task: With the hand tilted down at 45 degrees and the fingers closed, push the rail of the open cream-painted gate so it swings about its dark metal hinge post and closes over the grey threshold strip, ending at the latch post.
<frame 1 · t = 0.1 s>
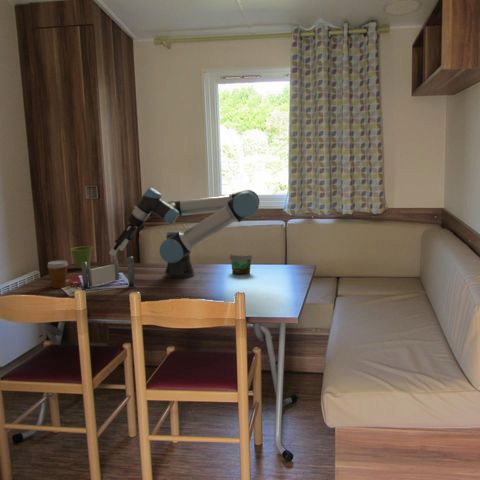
hand: (115, 252, 257), 15 cm above the table, tool tilted 35°, fingers open, 13 cm apart
disposable coffee cup: (59, 286, 253), on the table
threshold strip: (109, 288, 248), on the table
latch post: (131, 287, 249), on the table
hinge post: (85, 289, 247), on the table
food container: (239, 274, 272), on the table
plant pot: (82, 268, 292), on the table
gate: (103, 272, 254), point 6 cm above the table, hinge at 45.0°
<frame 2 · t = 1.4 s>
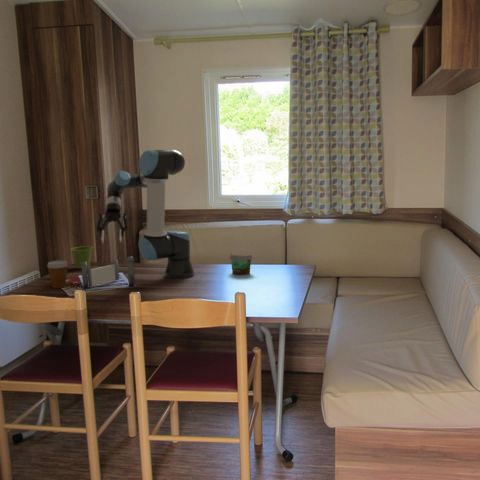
hand: (111, 241, 267), 19 cm above the table, tool tilted 45°, fingers open, 8 cm apart
nothing on the table moved.
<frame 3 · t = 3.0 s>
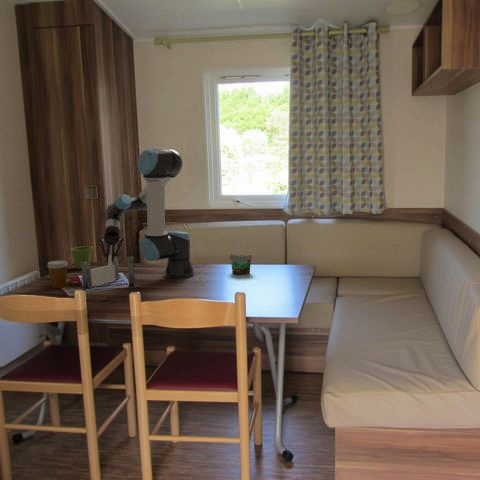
hand: (109, 267, 263), 6 cm above the table, tool tilted 45°, fingers closed
nothing on the table moved.
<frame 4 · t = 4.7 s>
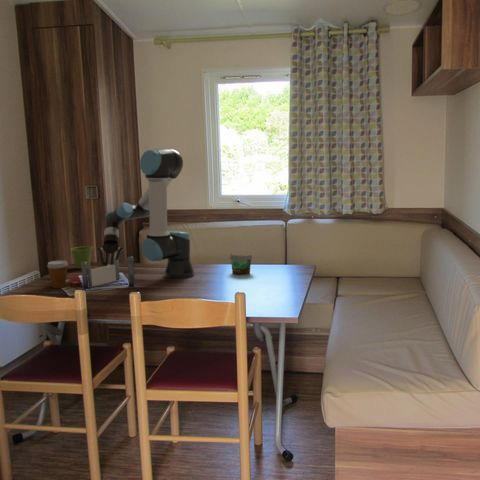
hand: (108, 276, 258), 3 cm above the table, tool tilted 45°, fingers closed
gate: (103, 272, 253), point 6 cm above the table, hinge at 43.3°
everything else where it was.
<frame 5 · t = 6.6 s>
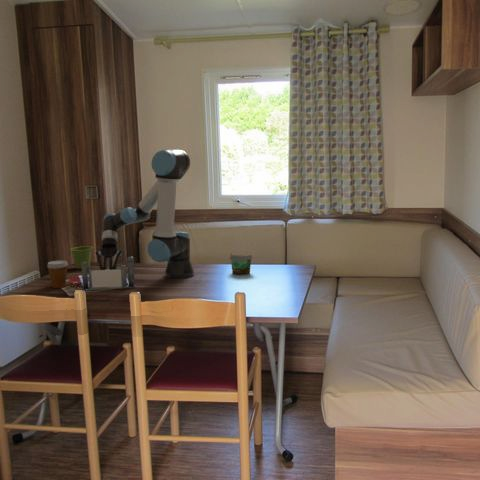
hand: (107, 281, 249), 3 cm above the table, tool tilted 45°, fingers closed
gate: (107, 276, 246), point 6 cm above the table, hinge at -1.7°, touching gripper
everything else where it was.
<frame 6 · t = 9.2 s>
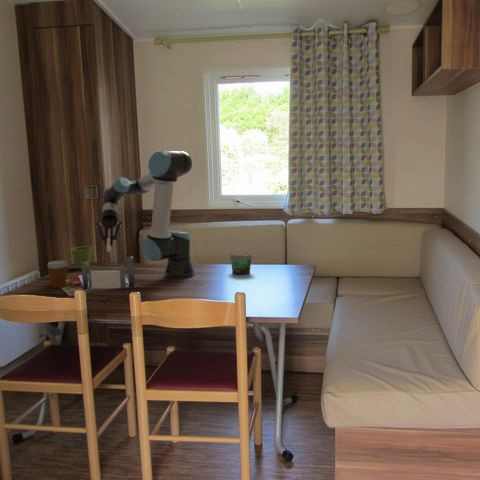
hand: (108, 250, 257), 16 cm above the table, tool tilted 45°, fingers closed
gate: (106, 277, 245), point 6 cm above the table, hinge at -9.6°
everything else where it was.
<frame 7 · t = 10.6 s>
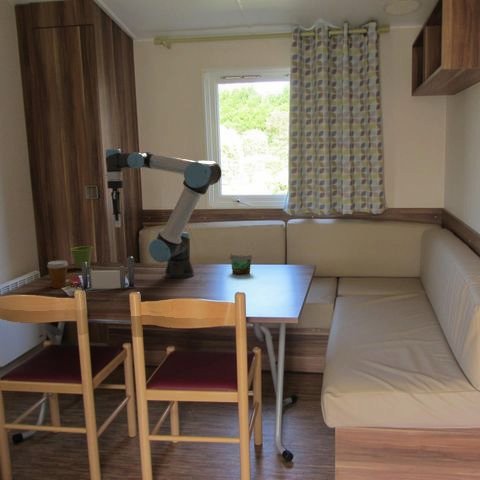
hand: (117, 226, 264), 26 cm above the table, tool pointing down, fingers closed
nothing on the table moved.
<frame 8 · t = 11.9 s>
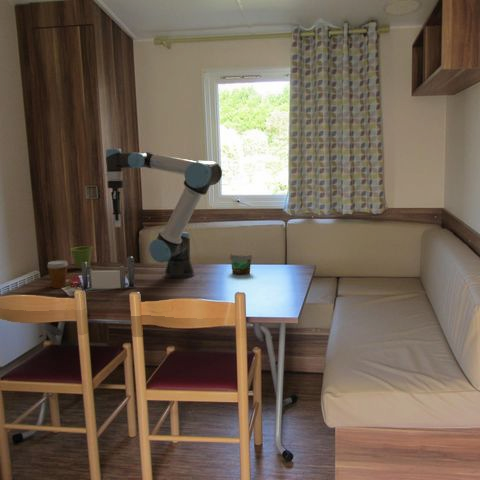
hand: (117, 226, 264), 26 cm above the table, tool pointing down, fingers closed
nothing on the table moved.
at the end: gate at -10° (first picture: +45°); the gripper is holding nothing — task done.
